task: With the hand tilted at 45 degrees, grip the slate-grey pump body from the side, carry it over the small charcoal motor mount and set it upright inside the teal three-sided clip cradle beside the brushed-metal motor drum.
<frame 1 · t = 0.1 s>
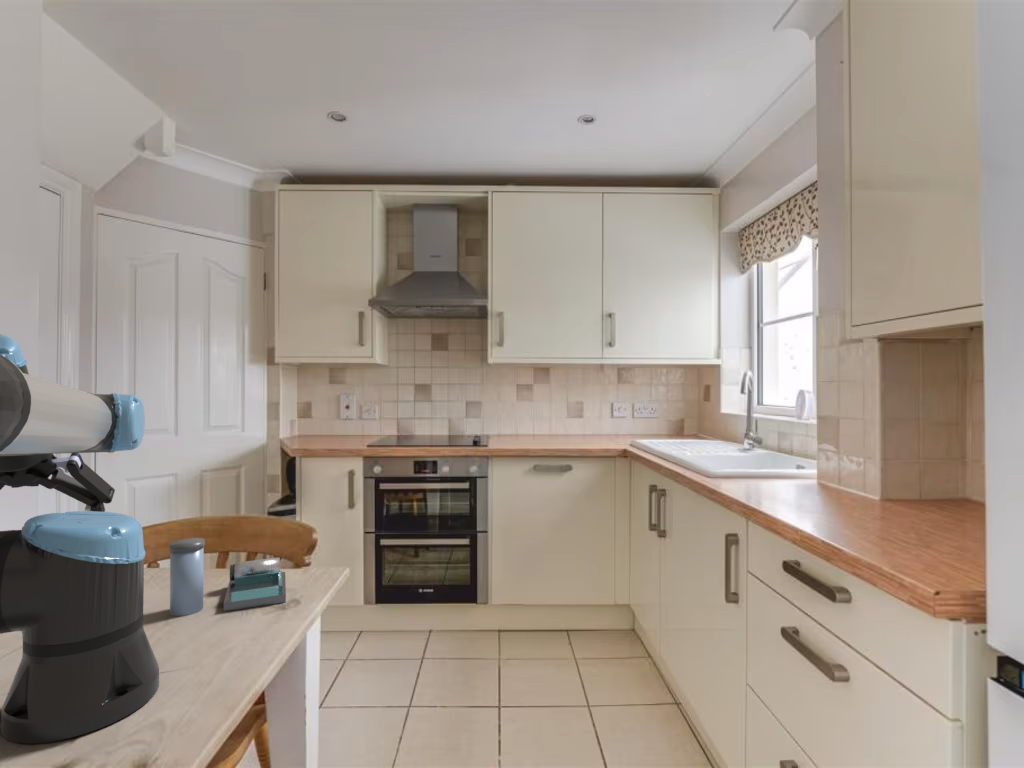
hand: (46, 535, 86), 15 cm above the table, fingers open, 13 cm apart
pump body: (186, 610, 93), on the table
motor mount: (256, 594, 100), on the table
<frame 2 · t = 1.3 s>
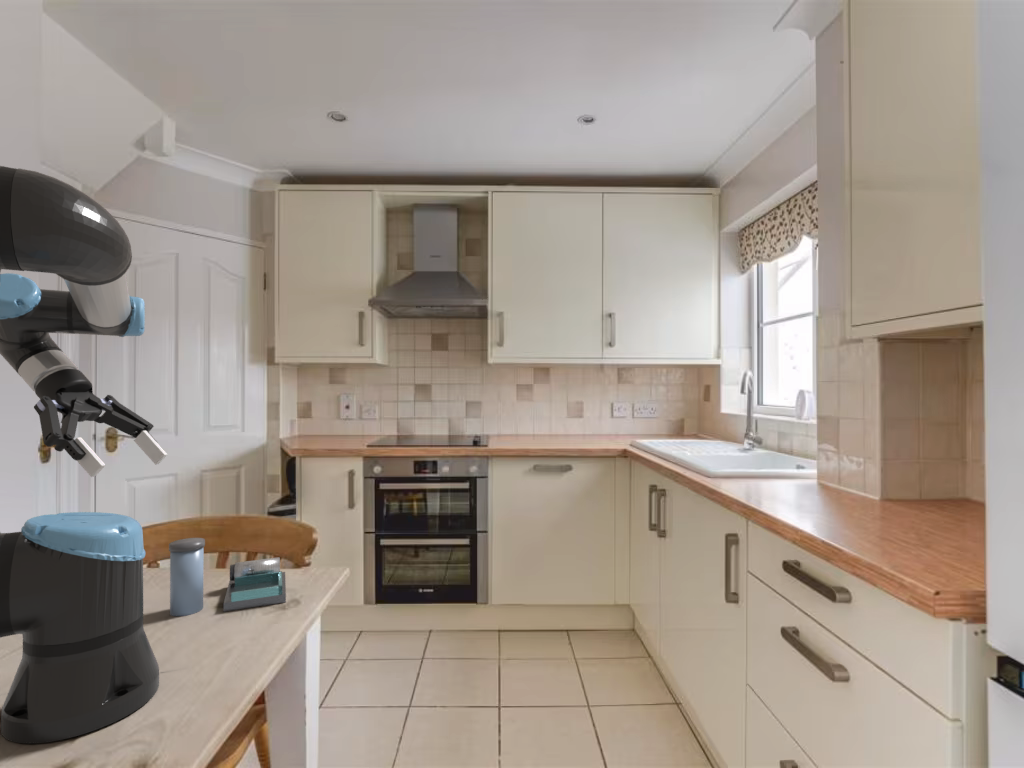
hand: (132, 465, 94), 25 cm above the table, fingers open, 13 cm apart
nothing on the table moved.
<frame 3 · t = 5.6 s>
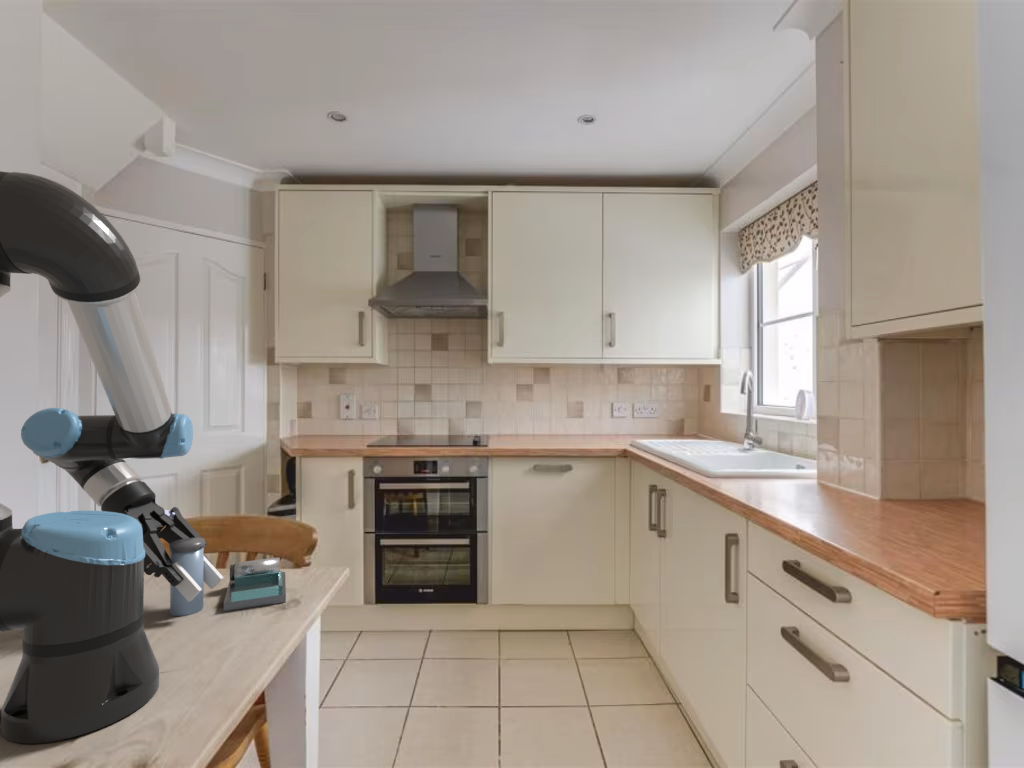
hand: (206, 589, 92), 4 cm above the table, fingers closed on pump body, 5 cm apart
pump body: (187, 610, 93), on the table, touching gripper
when the fingers open (6 cm above the table, at t = 10.2 s): pump body stays where it is, resting on motor mount.
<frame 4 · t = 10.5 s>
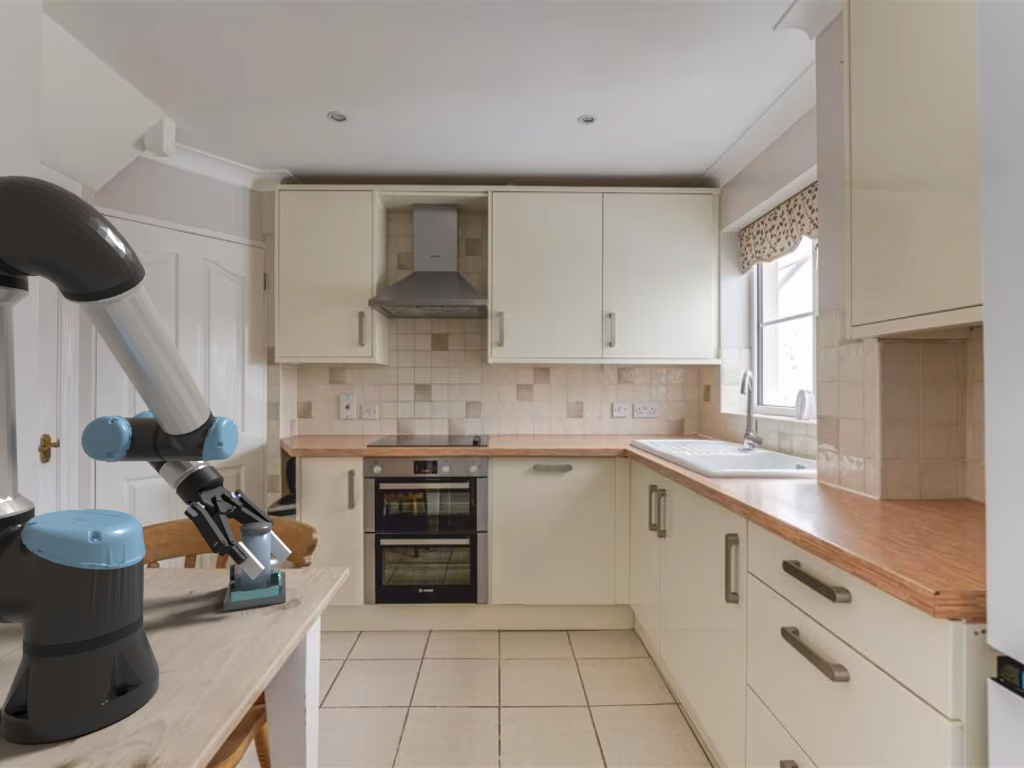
hand: (273, 565, 98), 6 cm above the table, fingers open, 8 cm apart
pump body: (255, 590, 98), point 2 cm above the table, touching motor mount
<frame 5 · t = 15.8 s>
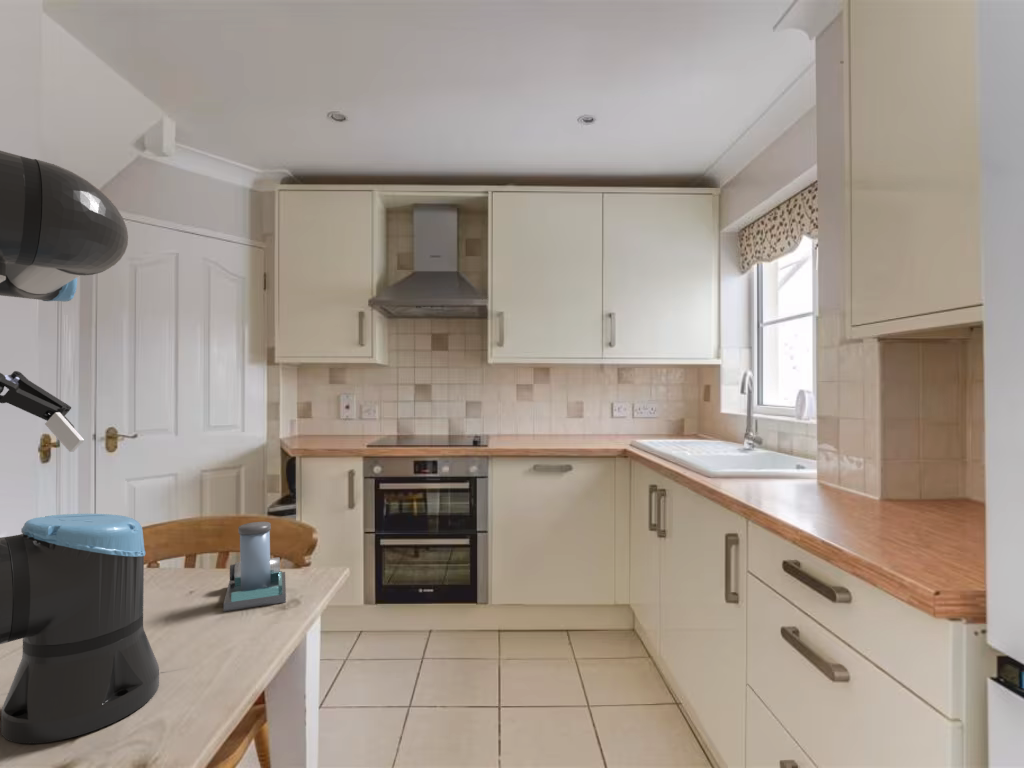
hand: (35, 450, 80), 30 cm above the table, fingers open, 13 cm apart
nothing on the table moved.
at the end: pump body 0.1 cm from the target spot on the motor mount, point 1.5 cm above the motor mount's base; pump body tilted 1°; the gripper is holding nothing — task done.
